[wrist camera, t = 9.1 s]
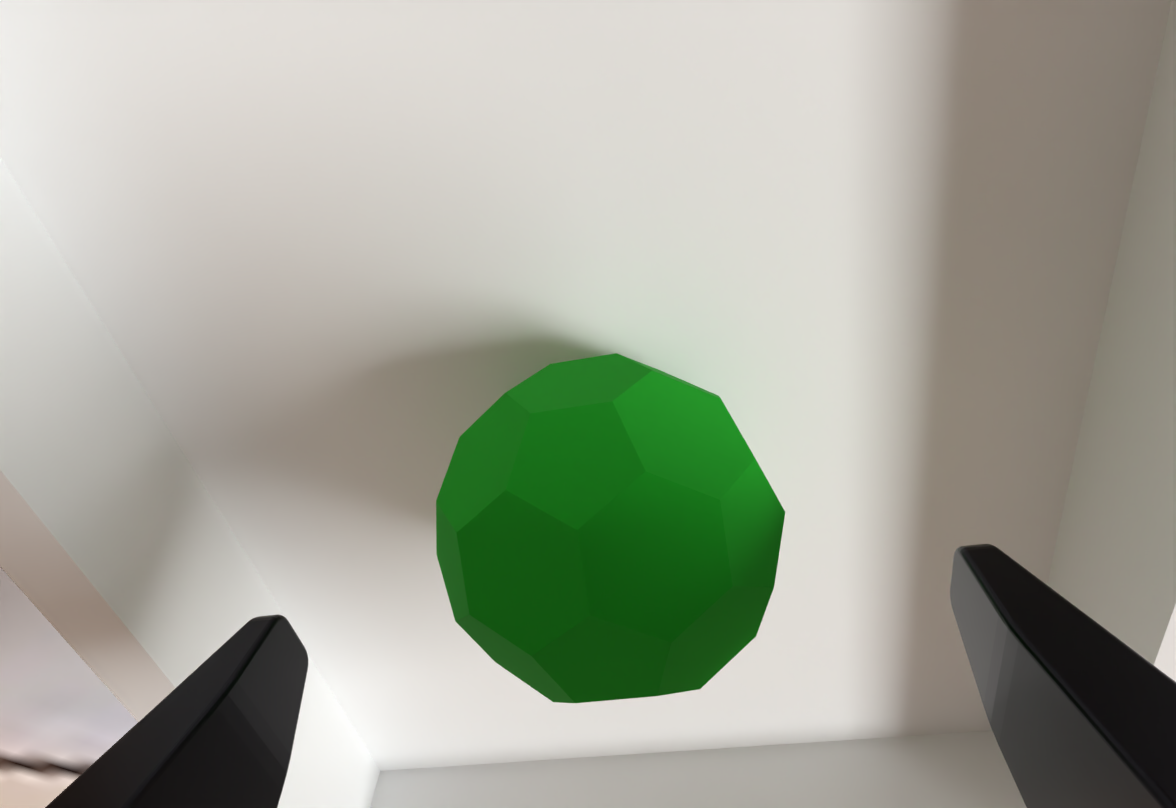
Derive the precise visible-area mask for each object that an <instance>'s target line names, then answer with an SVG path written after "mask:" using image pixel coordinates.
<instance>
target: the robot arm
mask: <svg viewBox="0 0 1176 808" xmlns="http://www.w3.org/2000/svg"><path fill="white" fill-rule="evenodd" d="M950 600H951V606H952V610H953V613H954V616H955V619H956V622H957V625H958V628H959V632H960V635H961V638H962V641H963V644H964V647H965V650H966V653H967V656H968V660H969V663H970V666H971V669H972V672H973V675H974V678H975V681H976V684H977V688H978V691H979V694H980V697H981V700H982V703H983V706H984V709H985V712H986V715H987V718H988V721H989V724H990V726H991V729H992V731H993V734H994V736H995V738H996V741H997V743H998V746H999V748H1000V750H1001V752H1002V754H1003V757H1004V759H1005V761H1006V763H1007V765H1008V768H1009V770H1010V772H1011V774H1012V777H1013V779H1014V781H1015V783H1016V785H1017V788H1018V790H1019V792H1020V794H1021V796H1022V799H1023V801H1024V803H1025V805H1026V807H1027V808H1176V682H1175V681H1174V680H1173V679H1171V678H1170V677H1169V676H1167V675H1166V674H1165V673H1163V672H1162V671H1161V670H1159V669H1158V668H1157V667H1155V666H1154V665H1153V664H1151V663H1150V662H1149V661H1147V660H1146V659H1145V658H1143V657H1142V656H1141V655H1139V654H1138V653H1137V652H1135V651H1134V650H1133V649H1131V648H1130V647H1129V646H1128V645H1126V644H1125V643H1124V642H1122V641H1121V640H1120V639H1118V638H1117V637H1116V636H1114V635H1113V634H1112V633H1110V632H1109V631H1108V630H1106V629H1105V628H1104V627H1102V626H1101V625H1100V624H1098V623H1097V622H1096V621H1094V620H1093V619H1092V618H1090V617H1089V616H1088V615H1086V614H1085V613H1084V612H1082V611H1081V610H1080V609H1078V608H1077V607H1076V606H1074V605H1073V604H1072V603H1070V602H1069V601H1068V600H1066V599H1065V598H1064V597H1062V596H1061V595H1060V594H1058V593H1057V592H1056V591H1055V590H1053V589H1052V588H1051V587H1049V586H1048V585H1047V584H1045V583H1044V582H1043V581H1041V580H1040V579H1039V578H1037V577H1036V576H1035V575H1033V574H1032V573H1031V572H1029V571H1028V570H1027V569H1025V568H1024V567H1023V566H1021V565H1020V564H1019V563H1017V562H1016V561H1015V560H1013V559H1012V558H1011V557H1009V556H1008V555H1007V554H1005V553H1004V552H1003V551H1001V550H1000V549H999V548H997V547H996V546H994V545H991V544H977V545H967V546H960V547H958V548H957V549H956V551H955V553H954V557H953V567H952V576H951V585H950ZM307 671H308V654H307V651H306V649H305V647H304V645H303V644H302V642H301V640H300V639H299V637H298V636H297V634H296V632H295V631H294V629H293V627H292V626H291V624H290V623H289V621H288V620H287V618H286V617H284V616H282V615H278V614H277V615H267V616H258V617H255V618H253V619H251V620H250V621H248V622H247V623H246V624H245V625H244V626H243V627H242V628H241V629H239V630H238V631H237V632H236V633H235V634H234V635H233V636H232V637H231V638H230V639H229V640H227V641H226V642H225V643H224V644H223V645H222V646H221V647H220V648H219V649H218V650H217V651H215V652H214V653H213V654H212V655H211V656H210V657H209V658H208V659H207V660H206V661H205V662H203V663H202V664H201V665H200V666H199V667H198V668H197V669H196V670H195V671H194V672H193V673H191V674H190V675H189V676H188V677H187V678H186V679H185V680H184V681H183V682H182V683H181V684H179V685H178V686H177V687H176V688H175V689H174V690H173V691H172V692H171V693H170V694H169V695H168V696H166V697H165V698H164V699H163V700H162V701H161V702H160V703H159V704H158V705H157V706H156V707H154V708H153V709H152V710H151V711H150V712H149V713H148V714H147V715H146V716H145V717H144V718H142V719H141V720H140V721H139V722H138V723H137V724H136V725H135V726H134V727H133V728H132V729H130V730H129V731H128V732H127V733H126V734H125V735H124V736H123V737H122V738H121V739H120V740H118V741H117V742H116V743H115V744H114V745H113V746H112V747H111V748H110V749H109V750H108V751H107V752H105V753H104V754H103V755H102V756H101V757H100V758H99V759H98V760H97V761H96V762H95V763H93V764H92V765H91V766H90V767H89V768H88V769H87V770H86V771H85V772H84V773H83V774H81V775H80V776H79V777H78V778H77V779H76V780H75V781H74V782H73V783H72V784H71V785H69V786H68V787H67V788H66V789H65V790H64V791H63V792H62V793H61V794H60V795H59V796H57V797H56V798H55V799H54V800H53V801H52V802H51V803H50V804H49V805H48V806H47V807H45V808H277V807H278V803H279V800H280V797H281V793H282V790H283V786H284V783H285V779H286V775H287V771H288V767H289V763H290V758H291V754H292V748H293V743H294V738H295V733H296V728H297V723H298V717H299V712H300V707H301V702H302V697H303V692H304V687H305V681H306V676H307Z"/></svg>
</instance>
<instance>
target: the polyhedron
mask: <svg viewBox="0 0 1176 808" xmlns="http://www.w3.org/2000/svg"><path fill="white" fill-rule="evenodd" d="M784 518H785V511H784V509H783V507H782V505H781V503H780V502H779V500H778V498H777V496H776V494H775V493H774V491H773V489H772V487H771V485H770V484H769V482H768V480H767V478H766V476H765V475H764V473H763V471H762V469H761V468H760V466H759V464H758V462H757V460H756V459H755V457H754V455H753V453H752V452H751V450H750V448H749V446H748V445H747V443H746V441H745V439H744V438H743V436H742V434H741V433H740V431H739V429H738V427H737V426H736V424H735V422H734V420H733V419H732V417H731V415H730V413H729V412H728V410H727V408H726V406H725V405H724V403H723V401H722V400H721V398H720V397H719V396H718V395H716V394H714V393H711V392H709V391H707V390H704V389H702V388H700V387H698V386H695V385H693V384H691V383H688V382H686V381H684V380H681V379H679V378H677V377H674V376H672V375H670V374H668V373H665V372H663V371H661V370H658V369H656V368H653V367H651V366H648V365H645V364H643V363H640V362H638V361H635V360H633V359H630V358H627V357H625V356H622V355H620V354H617V353H615V354H609V355H603V356H596V357H590V358H584V359H577V360H571V361H565V362H558V363H552V364H549V365H548V366H546V367H545V368H543V369H541V370H540V371H538V372H537V373H535V374H534V375H532V376H530V377H529V378H527V379H526V380H524V381H523V382H521V383H520V384H518V385H516V386H515V387H513V388H512V389H510V390H509V391H507V392H505V393H504V394H503V395H502V396H501V397H500V398H499V399H498V400H497V401H496V402H495V403H494V404H493V405H492V406H491V407H490V408H489V409H488V410H487V411H486V412H485V413H484V414H483V415H482V416H480V417H479V418H478V419H477V420H476V421H475V422H474V423H473V424H472V425H471V426H470V427H469V428H468V429H467V430H466V431H465V432H464V433H463V434H462V435H461V436H460V437H459V439H458V442H457V445H456V448H455V450H454V453H453V456H452V459H451V461H450V464H449V467H448V470H447V472H446V475H445V478H444V480H443V483H442V486H441V489H440V491H439V494H438V497H437V500H436V554H437V558H438V562H439V565H440V569H441V572H442V576H443V579H444V583H445V586H446V590H447V594H448V597H449V601H450V604H451V608H452V611H453V615H454V618H455V621H456V623H457V624H458V625H459V626H460V627H461V628H462V629H463V630H464V631H465V632H466V633H467V634H468V635H469V636H470V637H471V638H472V639H473V640H474V641H475V642H476V643H477V644H478V645H479V646H480V647H481V648H482V649H483V650H484V651H485V652H486V653H487V654H488V655H489V656H490V657H491V658H492V659H493V660H494V661H495V662H496V663H497V664H499V665H500V666H502V667H503V668H504V669H506V670H507V671H509V672H510V673H512V674H513V675H515V676H516V677H517V678H519V679H520V680H522V681H523V682H525V683H526V684H528V685H529V686H530V687H532V688H533V689H535V690H536V691H538V692H539V693H541V694H542V695H543V696H545V697H546V698H548V699H549V700H551V701H552V702H559V703H585V702H596V701H608V700H619V699H631V698H642V697H654V696H661V695H668V694H674V693H680V692H686V691H692V690H699V689H701V688H702V687H703V686H704V685H705V684H706V683H707V682H708V681H709V680H710V679H711V678H713V677H714V676H715V675H716V674H717V673H718V672H719V671H720V670H721V669H722V668H723V667H724V666H725V665H726V664H727V663H728V662H730V661H731V660H732V659H733V658H734V657H735V656H736V655H737V654H738V653H739V652H740V651H741V650H742V649H743V648H744V647H745V646H747V645H748V644H749V643H750V642H751V641H752V640H753V639H754V638H755V637H756V635H757V633H758V630H759V627H760V625H761V622H762V619H763V616H764V614H765V611H766V608H767V605H768V603H769V600H770V597H771V594H772V592H773V589H774V585H775V578H776V571H777V565H778V558H779V551H780V545H781V538H782V531H783V525H784Z"/></svg>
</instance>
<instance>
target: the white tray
mask: <svg viewBox="0 0 1176 808" xmlns="http://www.w3.org/2000/svg"><path fill="white" fill-rule="evenodd" d="M615 353H617V354H620V355H622V356H625V357H627V358H630V359H633V360H635V361H638V362H640V363H643V364H645V365H648V366H651V367H653V368H656V369H658V370H661V371H663V372H665V373H668V374H670V375H672V376H674V377H677V378H679V379H681V380H684V381H686V382H688V383H691V384H693V385H695V386H698V387H700V388H702V389H704V390H707V391H709V392H711V393H714V394H716V395H718V396H719V397H720V398H721V400H722V401H723V403H724V405H725V406H726V408H727V410H728V412H729V413H730V415H731V417H732V419H733V420H734V422H735V424H736V426H737V427H738V429H739V431H740V433H741V434H742V436H743V438H744V439H745V441H746V443H747V445H748V446H749V448H750V450H751V452H752V453H753V455H754V457H755V459H756V460H757V462H758V464H759V466H760V468H761V469H762V471H763V473H764V475H765V476H766V478H767V480H768V482H769V484H770V485H771V487H772V489H773V491H774V493H775V494H776V496H777V498H778V500H779V502H780V503H781V505H782V507H783V509H784V511H785V518H784V525H783V531H782V538H781V545H780V551H779V558H778V565H777V571H776V578H775V585H774V589H773V592H772V594H771V597H770V600H769V603H768V605H767V608H766V611H765V614H764V616H763V619H762V622H761V625H760V627H759V630H758V633H757V635H756V637H755V638H754V639H753V640H752V641H751V642H750V643H749V644H748V645H747V646H745V647H744V648H743V649H742V650H741V651H740V652H739V653H738V654H737V655H736V656H735V657H734V658H733V659H732V660H731V661H730V662H728V663H727V664H726V665H725V666H724V667H723V668H722V669H721V670H720V671H719V672H718V673H717V674H716V675H715V676H714V677H713V678H711V679H710V680H709V681H708V682H707V683H706V684H705V685H704V686H703V687H702V688H701V689H699V690H692V691H686V692H680V693H674V694H668V695H661V696H654V697H642V698H631V699H619V700H608V701H596V702H585V703H559V702H552V701H551V700H549V699H548V698H546V697H545V696H543V695H542V694H541V693H539V692H538V691H536V690H535V689H533V688H532V687H530V686H529V685H528V684H526V683H525V682H523V681H522V680H520V679H519V678H517V677H516V676H515V675H513V674H512V673H510V672H509V671H507V670H506V669H504V668H503V667H502V666H500V665H499V664H497V663H496V662H495V661H494V660H493V659H492V658H491V657H490V656H489V655H488V654H487V653H486V652H485V651H484V650H483V649H482V648H481V647H480V646H479V645H478V644H477V643H476V642H475V641H474V640H473V639H472V638H471V637H470V636H469V635H468V634H467V633H466V632H465V631H464V630H463V629H462V628H461V627H460V626H459V625H458V624H457V623H456V621H455V618H454V615H453V611H452V608H451V604H450V601H449V597H448V594H447V590H446V586H445V583H444V579H443V576H442V572H441V569H440V565H439V562H438V558H437V554H436V500H437V497H438V494H439V491H440V489H441V486H442V483H443V480H444V478H445V475H446V472H447V470H448V467H449V464H450V461H451V459H452V456H453V453H454V450H455V448H456V445H457V442H458V439H459V437H460V436H461V435H462V434H463V433H464V432H465V431H466V430H467V429H468V428H469V427H470V426H471V425H472V424H473V423H474V422H475V421H476V420H477V419H478V418H479V417H480V416H482V415H483V414H484V413H485V412H486V411H487V410H488V409H489V408H490V407H491V406H492V405H493V404H494V403H495V402H496V401H497V400H498V399H499V398H500V397H501V396H502V395H503V394H504V393H505V392H507V391H509V390H510V389H512V388H513V387H515V386H516V385H518V384H520V383H521V382H523V381H524V380H526V379H527V378H529V377H530V376H532V375H534V374H535V373H537V372H538V371H540V370H541V369H543V368H545V367H546V366H548V365H549V364H552V363H558V362H565V361H571V360H577V359H584V358H590V357H596V356H603V355H609V354H615ZM977 544H991V545H994V546H996V547H997V548H999V549H1000V550H1001V551H1003V552H1004V553H1005V554H1007V555H1008V556H1009V557H1011V558H1012V559H1013V560H1015V561H1016V562H1017V563H1019V564H1020V565H1021V566H1023V567H1024V568H1025V569H1027V570H1028V571H1029V572H1031V573H1032V574H1033V575H1035V576H1036V577H1037V578H1039V579H1040V580H1041V581H1043V582H1044V583H1045V584H1047V585H1048V586H1049V587H1051V588H1052V589H1053V590H1055V591H1056V592H1057V593H1058V594H1060V595H1061V596H1062V597H1064V598H1065V599H1066V600H1068V601H1069V602H1070V603H1072V604H1073V605H1074V606H1076V607H1077V608H1078V609H1080V610H1081V611H1082V612H1084V613H1085V614H1086V615H1088V616H1089V617H1090V618H1092V619H1093V620H1094V621H1096V622H1097V623H1098V624H1100V625H1101V626H1102V627H1104V628H1105V629H1106V630H1108V631H1109V632H1110V633H1112V634H1113V635H1114V636H1116V637H1117V638H1118V639H1120V640H1121V641H1122V642H1124V643H1125V644H1126V645H1128V646H1129V647H1130V648H1131V649H1133V650H1134V651H1135V652H1137V653H1138V654H1139V655H1141V656H1142V657H1143V658H1145V659H1146V660H1147V661H1149V662H1150V663H1151V664H1153V665H1154V666H1155V667H1157V668H1158V669H1159V670H1161V671H1162V672H1163V673H1165V674H1166V675H1167V676H1169V677H1170V678H1171V679H1173V680H1174V681H1175V682H1176V0H0V567H1V568H2V569H3V570H4V571H5V572H6V573H7V574H8V576H9V577H10V578H11V579H12V580H13V581H14V582H15V584H16V585H17V586H18V587H19V588H20V589H21V590H22V591H23V593H24V594H25V595H26V596H27V597H28V598H29V599H30V600H31V602H32V603H33V604H34V605H35V606H36V607H37V608H38V610H39V611H40V612H41V613H42V614H43V615H44V616H45V617H46V619H47V620H48V621H49V622H50V623H51V624H52V625H53V627H54V628H55V629H56V630H57V631H58V632H59V633H60V634H61V636H62V637H63V638H64V639H65V640H66V641H67V642H68V643H69V645H70V646H71V647H72V648H73V649H74V650H75V651H76V653H77V654H78V655H79V656H80V657H81V658H82V659H83V660H84V662H85V663H86V664H87V665H88V666H89V667H90V668H91V669H92V671H93V672H94V673H95V674H96V675H97V676H98V677H99V679H100V680H101V681H102V682H103V683H104V684H105V685H106V686H107V688H108V689H109V690H110V691H111V692H112V693H113V694H114V696H115V697H116V698H117V699H118V700H119V701H120V702H121V703H122V705H123V706H124V707H125V708H126V709H127V710H128V711H129V712H130V714H131V715H132V716H133V717H134V718H135V719H136V720H137V722H139V721H140V720H141V719H142V718H144V717H145V716H146V715H147V714H148V713H149V712H150V711H151V710H152V709H153V708H154V707H156V706H157V705H158V704H159V703H160V702H161V701H162V700H163V699H164V698H165V697H166V696H168V695H169V694H170V693H171V692H172V691H173V690H174V689H175V688H176V687H177V686H178V685H179V684H181V683H182V682H183V681H184V680H185V679H186V678H187V677H188V676H189V675H190V674H191V673H193V672H194V671H195V670H196V669H197V668H198V667H199V666H200V665H201V664H202V663H203V662H205V661H206V660H207V659H208V658H209V657H210V656H211V655H212V654H213V653H214V652H215V651H217V650H218V649H219V648H220V647H221V646H222V645H223V644H224V643H225V642H226V641H227V640H229V639H230V638H231V637H232V636H233V635H234V634H235V633H236V632H237V631H238V630H239V629H241V628H242V627H243V626H244V625H245V624H246V623H247V622H248V621H250V620H251V619H253V618H255V617H258V616H267V615H277V614H278V615H282V616H284V617H286V618H287V620H288V621H289V623H290V624H291V626H292V627H293V629H294V631H295V632H296V634H297V636H298V637H299V639H300V640H301V642H302V644H303V645H304V647H305V649H306V651H307V654H308V671H307V676H306V681H305V687H304V692H303V697H302V702H301V707H300V712H299V717H298V723H297V728H296V733H295V738H294V743H293V748H292V754H291V758H290V763H289V767H288V771H287V775H286V779H285V783H284V786H283V790H282V793H281V797H280V800H279V803H278V807H277V808H1027V807H1026V805H1025V803H1024V801H1023V799H1022V796H1021V794H1020V792H1019V790H1018V788H1017V785H1016V783H1015V781H1014V779H1013V777H1012V774H1011V772H1010V770H1009V768H1008V765H1007V763H1006V761H1005V759H1004V757H1003V754H1002V752H1001V750H1000V748H999V746H998V743H997V741H996V738H995V736H994V734H993V731H992V729H991V726H990V724H989V721H988V718H987V715H986V712H985V709H984V706H983V703H982V700H981V697H980V694H979V691H978V688H977V684H976V681H975V678H974V675H973V672H972V669H971V666H970V663H969V660H968V656H967V653H966V650H965V647H964V644H963V641H962V638H961V635H960V632H959V628H958V625H957V622H956V619H955V616H954V613H953V610H952V606H951V600H950V585H951V576H952V567H953V557H954V553H955V551H956V549H957V548H958V547H960V546H967V545H977Z"/></svg>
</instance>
